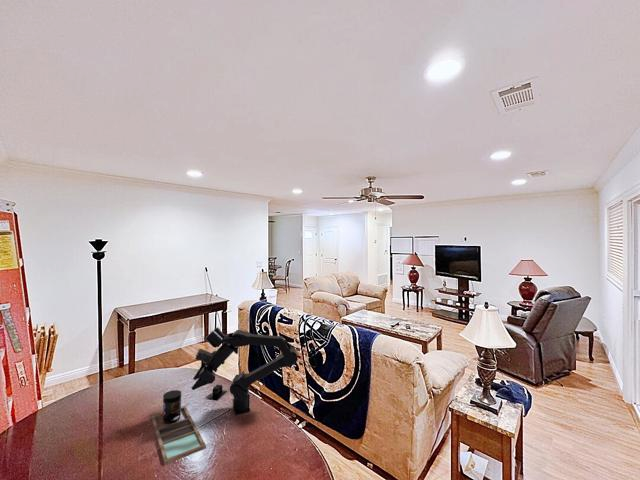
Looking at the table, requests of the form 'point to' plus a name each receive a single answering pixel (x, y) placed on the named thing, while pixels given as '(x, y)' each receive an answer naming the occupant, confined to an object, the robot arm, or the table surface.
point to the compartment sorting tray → (178, 438)
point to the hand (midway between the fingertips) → (193, 384)
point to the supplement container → (171, 407)
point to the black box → (217, 393)
